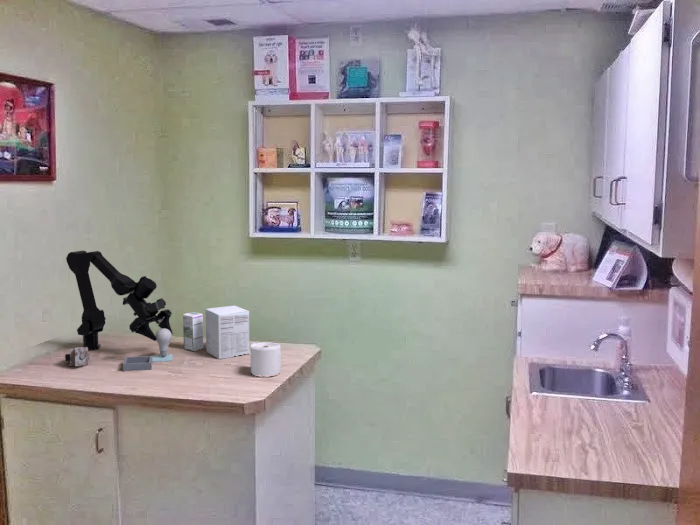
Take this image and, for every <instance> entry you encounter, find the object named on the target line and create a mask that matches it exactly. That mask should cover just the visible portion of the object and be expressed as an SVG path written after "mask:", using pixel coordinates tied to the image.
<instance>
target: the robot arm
mask: <svg viewBox="0 0 700 525" xmlns="http://www.w3.org/2000/svg"><path fill="white" fill-rule="evenodd" d="M65 260H66V263H67V265H68V268H69V270H70V271H71V272H72V273H73V274H74V276H75V280H76V284H77V288H78V291H79V292H78V293H79V295H80V300H81V304H82V308H83V311H82V314H81V324H80V325H79V327H78V328H76V332H77V335H79V336H82V344H83V345H82V347H88V351H94V350H95V351H96V350H100V348H101V346H102V345H101V344H99V343H100V342H99V333H101V332H103V331H104V326H105V325H106V320H107V318H106V315H105V311H104V309H99V308H98V307H97V302H96V297H95V295H94V290H93V287H92V283H91V278H90V274H89V270H90V267H91V264H92V265H93V266H94V267H95V268H96V269H97V270H98V271H99V272H100V273H101V274H102V275H103V276H104V277H105V278H106V279H107V280H108V281H109V283H110V287H111V288H112V289H113V291H114V292H115V293H116V295H118V296H125V295H127V296H125V297H123V299H122V305H123V306H125V305H129V306H130V308H131V309H132V311H133V312H134V313H133V316H135V317H134V320H132V321H131V323H130V324H129V325H128V326H129V330H130V331H131V334H132V333H135V334H138V335H141V336H143V337H146V338H149V339H150V340H153V342H157V341H156V340H157V338H156V336H155V335H156V334H155V333H154V332H153V330H152V329H151V327H150V323H153V322H155V323H156V324H157V326H158V327H159V328H160V329H163V328H165V329H168V330H169V331H170V332H171V334H172V335H173V334H174V332H173V330H172V327H171V323H170V318H171V316H172V314H173V313H172V311H171V310H170V309H165V308H166V305H167V302H166V301H165V299H164V298H163V297H161V298H158V299H156V301H155V302H147V300H145V299H148V298H149V297H150V296H151V295H152V294H153V293H154V291H155V290H156V288H157V287H158V286H157V283H156V281H154V280H153V279H151V278H148V277H147V276H146V275H144V276H141V277H140V279H139V280H138V281H137V282H136V281H135V280H133V278H131V276H128V275H126V274H123V273H121V272H120V271H119V270H118V269H117V268H116V267H115V266H114V265H113V264H112V263H111V262H109V260H107V259H106V257H104V256H103V254H102V252H101V251H99V250H96V251H95V250H94V251H89V252H87V251H86V250H75V251H70V252H68V253H67V255H66V258H65ZM136 316H137V317H136Z"/></svg>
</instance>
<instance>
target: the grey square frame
mask: <svg viewBox="0 0 700 525" xmlns="http://www.w3.org/2000/svg"><path fill="white" fill-rule="evenodd" d="M152 367H153V362H152V356H151V355H140V356H125V357H124V360H123V363H122V371H123V372H132V371H133V372H136V371H148V370H149V371H150V370H152ZM134 370H135V371H134Z"/></svg>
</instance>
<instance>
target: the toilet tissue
mask: <svg viewBox="0 0 700 525" xmlns="http://www.w3.org/2000/svg"><path fill="white" fill-rule="evenodd" d="M281 348H282V346H281V345H280V344H279V343H277V342H269V341H267V342H257V343H256V341H253V342H252V343H251V344H250V345H249V356H250V374H251V373H252V374H253V375H261V376H263V375H264V376H265V375H273V374H276V373H279V372H280V371H281V372H282V370H281V368H282V366H281V365H282V364H281V359H282V358H281V351H282V350H281ZM253 375H252V376H253Z"/></svg>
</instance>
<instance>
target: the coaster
mask: <svg viewBox="0 0 700 525" xmlns="http://www.w3.org/2000/svg"><path fill="white" fill-rule="evenodd" d="M150 356H152V363H159V362H173V360H174V359H173V357H174V354H170V353H169V354H167V355H166V356H165V357H162V356H161V355H160V354H154V355H150Z"/></svg>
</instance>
